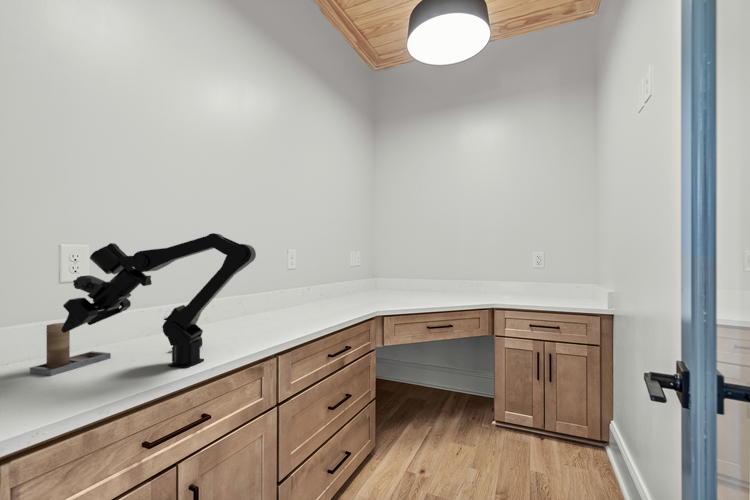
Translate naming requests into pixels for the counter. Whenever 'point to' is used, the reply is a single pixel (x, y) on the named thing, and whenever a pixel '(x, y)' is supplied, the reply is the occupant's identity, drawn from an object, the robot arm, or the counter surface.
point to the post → (57, 346)
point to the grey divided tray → (71, 363)
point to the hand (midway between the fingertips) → (76, 327)
